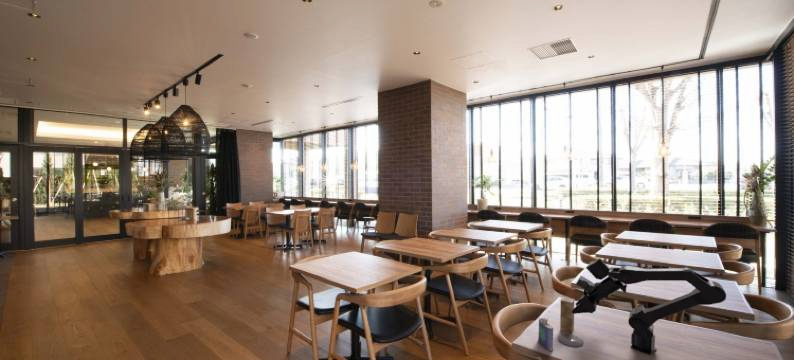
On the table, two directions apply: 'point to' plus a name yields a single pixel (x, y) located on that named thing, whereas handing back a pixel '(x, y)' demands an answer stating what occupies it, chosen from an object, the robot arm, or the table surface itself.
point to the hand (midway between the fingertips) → (574, 308)
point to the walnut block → (567, 315)
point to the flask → (545, 334)
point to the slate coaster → (570, 340)
